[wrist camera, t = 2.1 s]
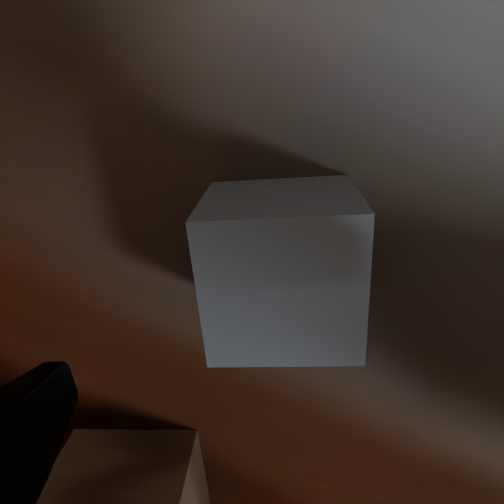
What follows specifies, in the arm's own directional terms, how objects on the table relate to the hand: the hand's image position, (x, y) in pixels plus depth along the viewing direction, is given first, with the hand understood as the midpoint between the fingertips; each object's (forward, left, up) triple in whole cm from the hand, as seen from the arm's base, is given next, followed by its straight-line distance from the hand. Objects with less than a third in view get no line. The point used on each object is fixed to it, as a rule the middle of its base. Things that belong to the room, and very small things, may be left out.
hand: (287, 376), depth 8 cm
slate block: (0, 0, -7) cm, 7 cm away
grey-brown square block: (+11, +9, -7) cm, 16 cm away
